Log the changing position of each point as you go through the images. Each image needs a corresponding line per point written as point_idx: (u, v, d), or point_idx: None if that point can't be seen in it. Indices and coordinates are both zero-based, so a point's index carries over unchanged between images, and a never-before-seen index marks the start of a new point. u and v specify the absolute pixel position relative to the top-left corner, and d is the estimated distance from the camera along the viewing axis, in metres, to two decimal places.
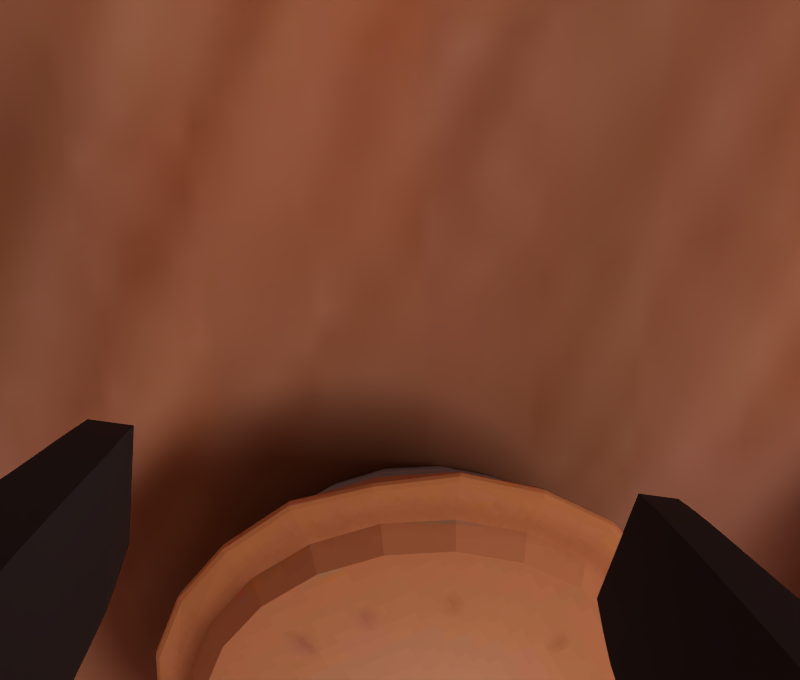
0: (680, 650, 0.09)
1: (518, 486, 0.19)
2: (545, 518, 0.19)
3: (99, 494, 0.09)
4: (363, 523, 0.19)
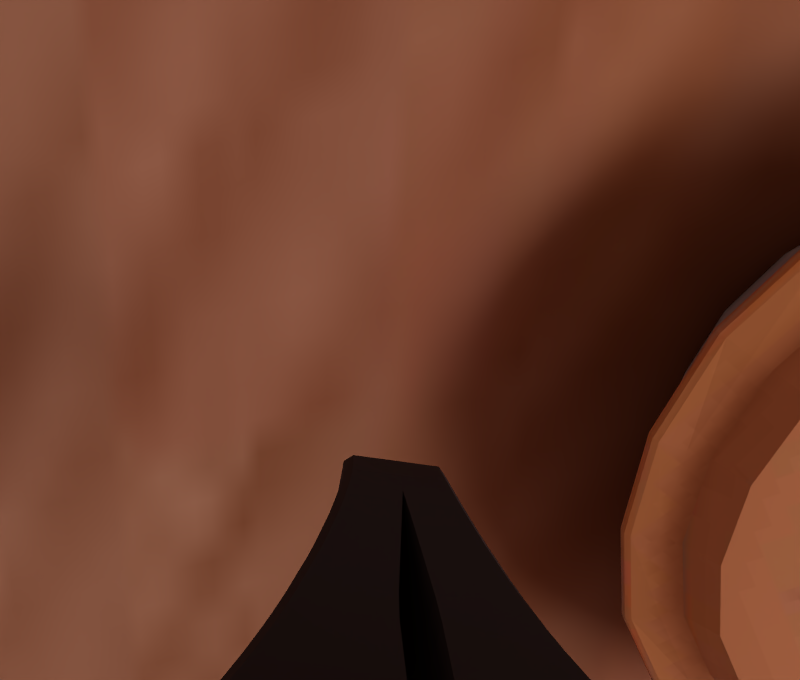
0: None
1: None
2: None
3: None
4: None
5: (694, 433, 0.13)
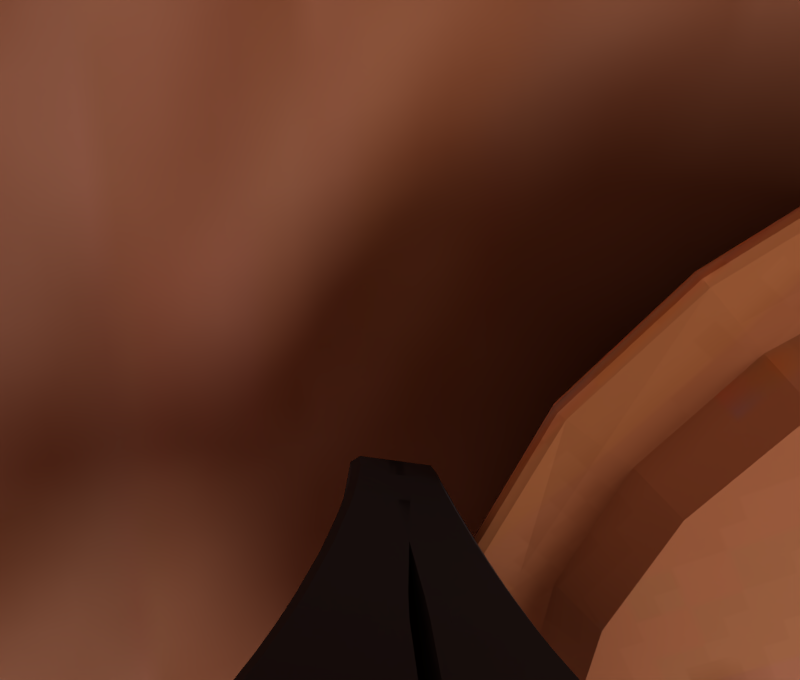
0: None
1: None
2: None
3: None
4: None
5: (529, 549, 0.09)
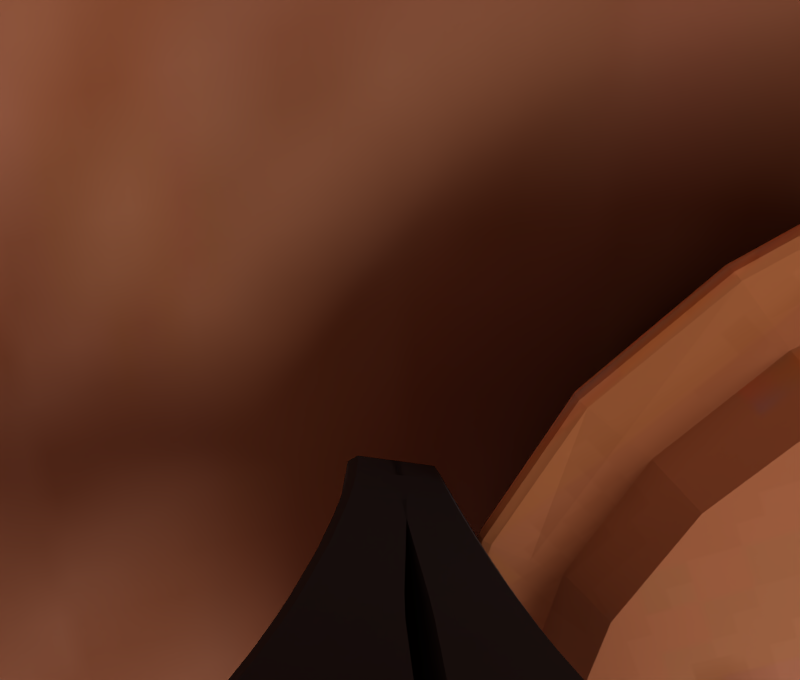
0: None
1: None
2: None
3: None
4: None
5: (540, 537, 0.09)
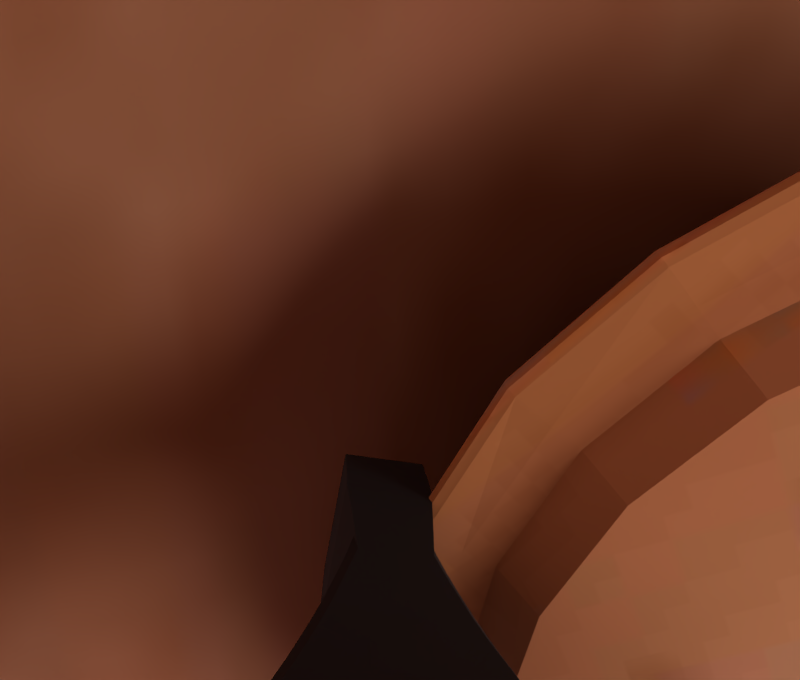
0: None
1: None
2: None
3: None
4: None
5: (472, 529, 0.09)
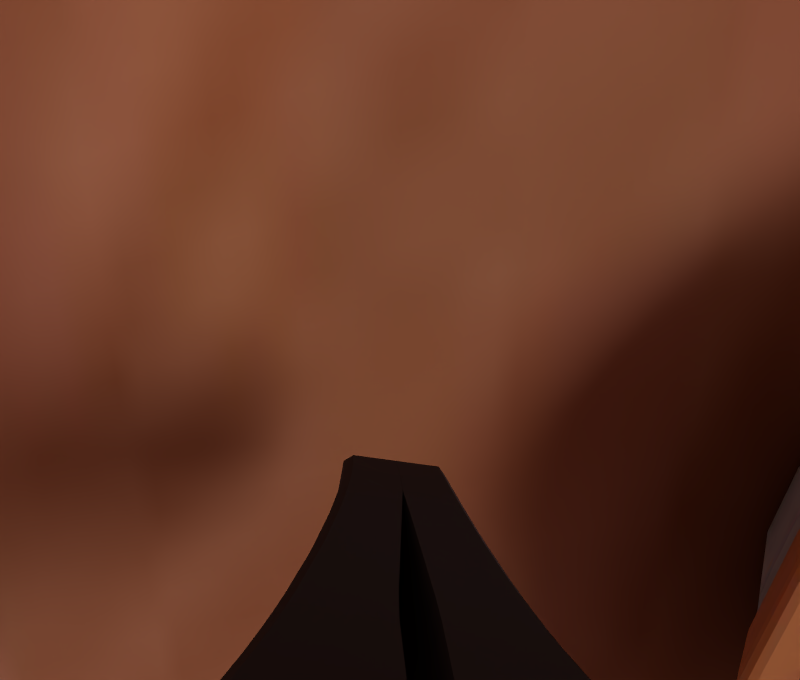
0: None
1: None
2: None
3: None
4: None
5: None
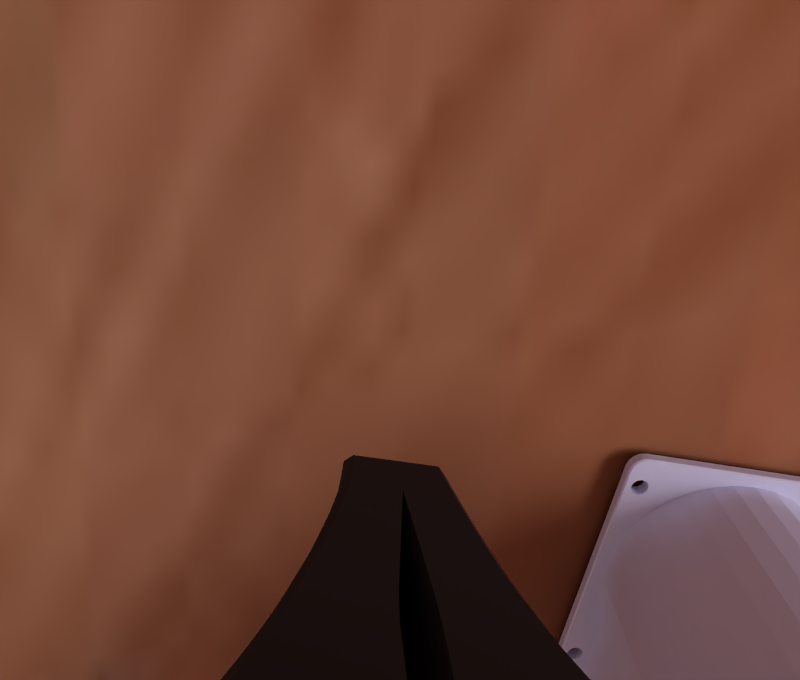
0: None
1: None
2: None
3: None
4: None
5: None
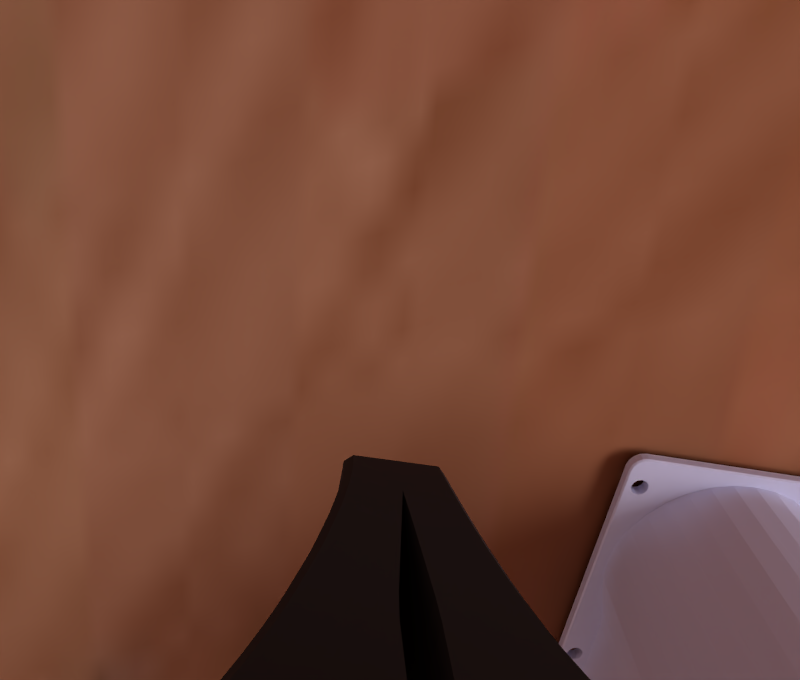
0: None
1: None
2: None
3: None
4: None
5: None
